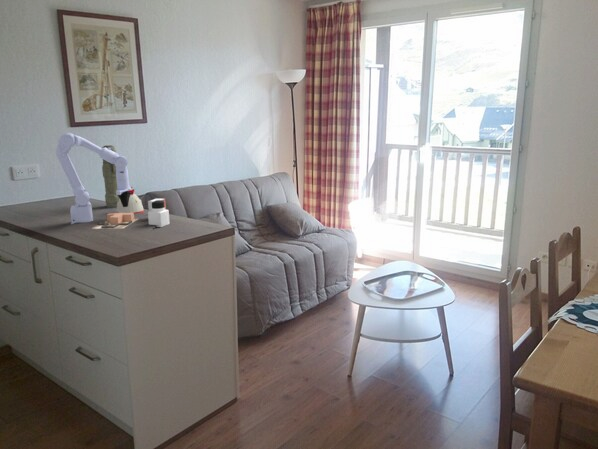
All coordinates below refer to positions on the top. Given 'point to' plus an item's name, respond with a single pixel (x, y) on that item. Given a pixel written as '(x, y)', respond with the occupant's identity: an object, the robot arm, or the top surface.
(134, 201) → the kitchen timer
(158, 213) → the medicine bottle
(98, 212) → the top surface
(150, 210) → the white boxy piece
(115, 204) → the olive green tall block
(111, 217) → the t block
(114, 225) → the board
